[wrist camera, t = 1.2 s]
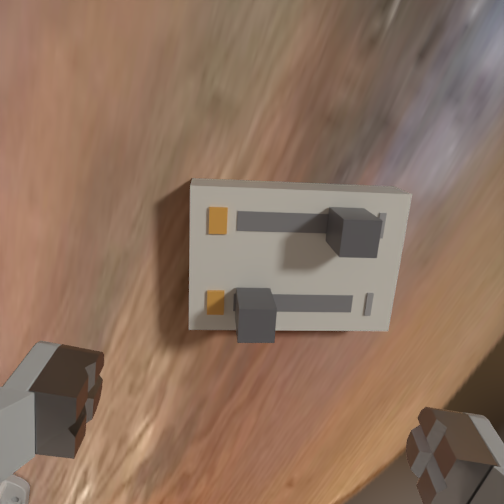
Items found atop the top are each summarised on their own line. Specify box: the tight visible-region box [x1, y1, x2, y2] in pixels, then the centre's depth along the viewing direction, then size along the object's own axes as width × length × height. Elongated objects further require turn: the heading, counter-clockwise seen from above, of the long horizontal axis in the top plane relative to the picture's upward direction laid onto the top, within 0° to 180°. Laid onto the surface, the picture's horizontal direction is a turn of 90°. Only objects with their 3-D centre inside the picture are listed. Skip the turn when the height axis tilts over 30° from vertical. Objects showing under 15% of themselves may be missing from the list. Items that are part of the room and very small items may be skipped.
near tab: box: [326, 207, 383, 258], centre depth 37 cm, size 3×3×4 cm
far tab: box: [235, 288, 277, 343], centre depth 39 cm, size 3×3×4 cm
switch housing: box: [189, 178, 412, 331], centre depth 42 cm, size 14×20×4 cm
